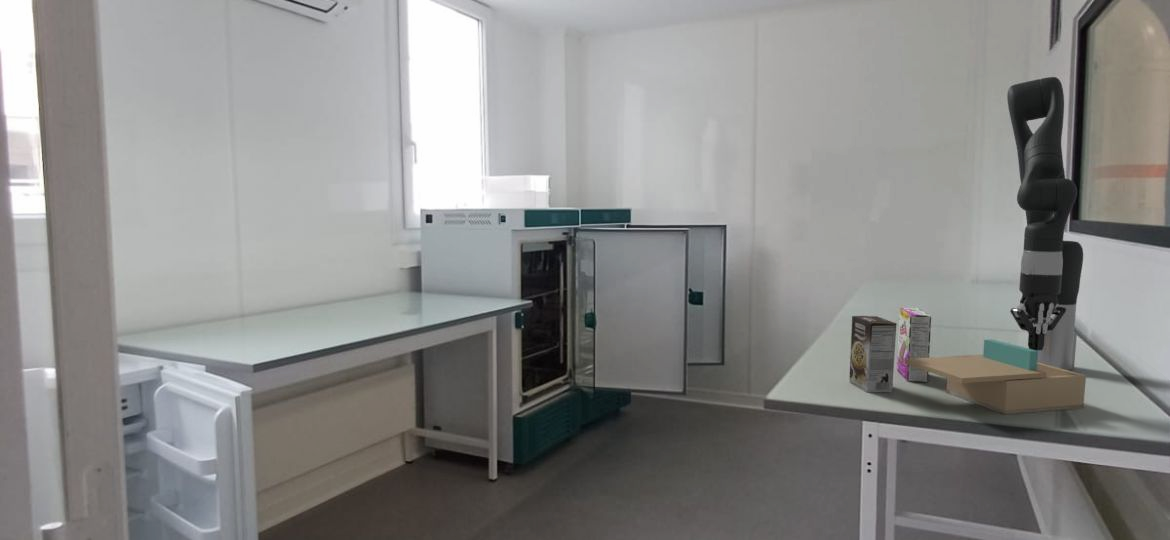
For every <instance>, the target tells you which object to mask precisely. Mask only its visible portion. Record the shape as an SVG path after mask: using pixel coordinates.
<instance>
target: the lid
mask: <svg viewBox="0 0 1170 540" xmlns="http://www.w3.org/2000/svg"><path fill="white" fill-rule="evenodd" d="M983 341H984V342H983V352H982V353H983V354H971V355H970V354H967V355H953V356H952V355H951V356H935V357H934V356H933V357H929V358H914V359H905V364H908V365H911V366H914V367H916V368H919V369H922V370H925V371H928V373H931V374H934V375H936V376H939V377H943V378H945V379H947V378H948V379H951V380H954V381H957V382H960V383H972V382H986V381H1000V380H1015V379H1029V378H1044V377H1046V372H1043V371H1039V370H1037V360H1038V351H1036V350H1032V349H1029V347H1028V348H1027V347H1023V346H1020V345H1015V344H1011V343H1008V342H1003V341H999V340H996V339H992V338H991V339H984V340H983Z"/></svg>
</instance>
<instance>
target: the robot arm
mask: <svg viewBox="0 0 1170 540" xmlns="http://www.w3.org/2000/svg"><path fill="white" fill-rule="evenodd" d="M1064 95H1065V94H1064V89H1063V85H1062V82H1061V80H1060V79H1059V78H1058V77H1055V76H1050V77H1042V78H1038V79H1033V80H1029V81H1025V82H1024V81H1023V82H1020V83H1017V84H1016V83H1015V84H1013V85H1010V86H1009V88H1008V90H1007V99H1006V100H1007V106H1008V112H1009V117H1010V122H1011V127H1012V132H1013V135H1014V136H1013V137H1014V140H1015V146H1016V150H1017V152H1016V153H1017V158H1018V159H1017V160H1018V161H1017V162H1018V168H1019V171H1018V172H1019V179H1020V186H1019V188H1018V191H1017V193H1016V202H1017V205H1018V206H1019V207H1020V208H1021V209H1022V210H1023V211H1025V216H1026V217H1025V218H1026V226H1025V228H1024V232H1023V233H1024V235H1023V236H1024V237H1023V251H1022V256H1021V261H1020V277H1019V288H1018V290H1019V292H1020V293H1021V298H1020V300H1019V305H1018V306H1017V307H1016V308H1015V307H1011V309H1010V312H1009V313H1010V314H1011V316H1012V317H1013V319H1014V320H1015V322H1016V323H1017V325H1018V327H1019V328H1020V329H1021V330H1022V331H1026V332H1027V334H1028V337H1027V338H1028V339H1027V340H1028V341H1027V347H1028V349H1032V350H1036V351H1038V360H1037V362H1038V363H1042V364H1045V365H1049V366H1053V367H1057V368H1060V369H1064V370H1068V371H1071V370H1072V369H1073V370H1074V369H1075V361H1076V352H1077V351H1076V350H1077V349H1076V347H1077V338H1078V337H1077V336H1078V335H1077V334H1078V333H1077V331H1076V332H1075V326H1076V325H1075V323H1076V313H1077V301H1078V300H1077V299H1078V294H1079V292H1080V285H1081V276H1082V270H1083V263H1084V250H1083V249H1084V248H1083V246H1082V244H1081V243H1080V242H1078V241H1073V240H1064V234H1065V229H1066V225H1067V222H1068V219H1069V216H1070V214H1071V212H1072V210H1073V207H1074V205H1075V202H1076V200H1077V197H1078V188H1077V186H1076V184H1075V182H1074V181H1073V180H1072V179H1069V178H1066V174H1065V168H1064V160H1063V151H1062V149H1063V148H1062V137H1063V136H1062V135H1063V129H1064V128H1063V127H1064V113H1065V96H1064ZM1039 119H1044V120H1043V122H1042V123H1041V125H1039V127H1038V128H1037V129H1036V130H1035V132H1034V133H1033V131H1032V129H1031V128H1030V126H1029V124H1028V122H1030V121H1034V120H1039Z"/></svg>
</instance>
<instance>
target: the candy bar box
mask: <svg viewBox="0 0 1170 540" xmlns="http://www.w3.org/2000/svg"><path fill="white" fill-rule="evenodd" d="M931 325H932V315H930V314H929V313H927V312H925V311H923V309H921V308H918V307H899V309H898V328H897V329H898V333H897V335H898V336H897V337H898V339H897V355H896V356H897V357H896V360H897V361H896V371H897V372H898V373H899V374H900V375H901V376H902V377H903V378H904V379H905V380H906V381H907V382H910V383H912V382H913V383H928V382H929V372H928V371H925V370H922V369H919V368H916V367H914V366H911V365H908V364H905V359H914V358H930V350H931V349H930V347H931V331H932V329H931Z"/></svg>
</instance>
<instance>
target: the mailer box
mask: <svg viewBox="0 0 1170 540" xmlns="http://www.w3.org/2000/svg"><path fill="white" fill-rule="evenodd" d="M1037 370H1039V371H1043V372H1046V377H1044V378H1029V379H1015V380H1000V381H986V382H972V383H960V382H957V381H954V380H951V379H948V378H946V379H947V381H946V394H949V395H952V396H955V397H957V398H959V399H963V400H965V401H968V402H971V403H973V404H975V405H978V406H982V407H984V408H986V409H989V410H991V411H992V410H993V411H994V412H997V413H1000V414H1003V415H1013V414H1027V413H1037V412H1038V413H1039V412H1048V411H1050V412H1051V411H1063V410H1073V409H1074V410H1075V409H1083V408H1084V404H1085V396H1086V395H1085V392H1086V382H1087V375H1086V374H1082V373H1078V372H1075V371H1071V370H1069V371H1068V370H1064V369H1060V368H1057V367H1053V366H1049V365H1045V364H1042V363H1038V362H1037Z"/></svg>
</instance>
